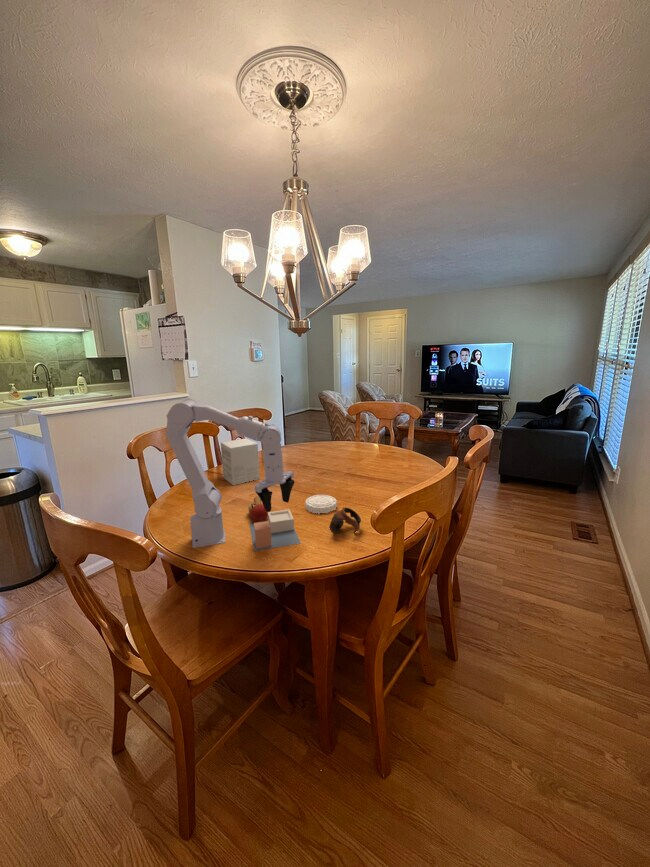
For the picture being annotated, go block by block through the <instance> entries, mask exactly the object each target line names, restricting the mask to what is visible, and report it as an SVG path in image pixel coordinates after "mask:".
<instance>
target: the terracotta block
mask: <svg viewBox="0 0 650 867" xmlns="http://www.w3.org/2000/svg"><path fill="white" fill-rule="evenodd" d="M253 524H254V534H255V544H256V548H262V547H268V546H272V545H271V527H270V524H269V521H268V520H266V521H265V520H264V521H262V522H254V523H253Z"/></svg>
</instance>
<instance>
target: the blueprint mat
mask: <svg viewBox="0 0 650 867" xmlns="http://www.w3.org/2000/svg"><path fill="white" fill-rule="evenodd" d="M249 529H250V530H249V531H250V535H251V540H252V541H251V542H252V546H253V551H254V552H258V551H264V550H265V551H266V550H271V549H276V548H282V547H283V548H284V547H289V546H293V545H299V544H301V541H300V538H299V536H298V533H297V531H296V528H294V530H289V531H283V532H276V533H271V545H272V546H268V547H262V548H256V544H255V534H254V523H249Z"/></svg>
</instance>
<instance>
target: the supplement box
mask: <svg viewBox="0 0 650 867" xmlns="http://www.w3.org/2000/svg"><path fill="white" fill-rule="evenodd" d="M220 449H221V450H220V452H221V454H220V455H221V466H222V475H223V476H222V477H223V479H224V480H226V481H227V482H228V483H229V484H230V485H232V486H237V485H240V484H244V483H245V482H246V483H250V482H254V481H258V480H260V479H261V477H260V462H259V445H258V443H257V442H256V441H254V440H252V439H250V438H247V437H244V438H241V439H233V440H228V441H220ZM253 480H254V481H253ZM249 481H250V482H249ZM246 483H245V484H246Z"/></svg>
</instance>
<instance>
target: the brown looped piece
mask: <svg viewBox="0 0 650 867" xmlns="http://www.w3.org/2000/svg"><path fill="white" fill-rule="evenodd" d="M348 514H350V516H349V515H348ZM361 522H362V519H361V517H360V515H359V514H358V513H357V511H355V510H353V509H352V508H349V507H343V508H342V509H341V510H338V511H335V513H333V516H332V517H331V521H330V523H329V527H328V528H330V529H329V531H330V530H331V531H330V532H333V533H334V534H340V530H341V529H342V527H343V525H344V523H345V524H348V525H351V526H352V527H354V531H353V533H354V532H356V531H358V532H359V530H360V527H361V526H360V525H361Z"/></svg>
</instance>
